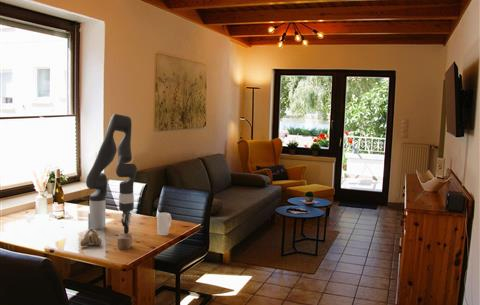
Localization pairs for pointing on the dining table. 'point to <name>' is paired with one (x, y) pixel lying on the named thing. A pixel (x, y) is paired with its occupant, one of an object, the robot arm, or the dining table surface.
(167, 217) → the mug
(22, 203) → the dining table surface
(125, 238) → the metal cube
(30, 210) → the dining table surface
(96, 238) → the ceramic sculpture
